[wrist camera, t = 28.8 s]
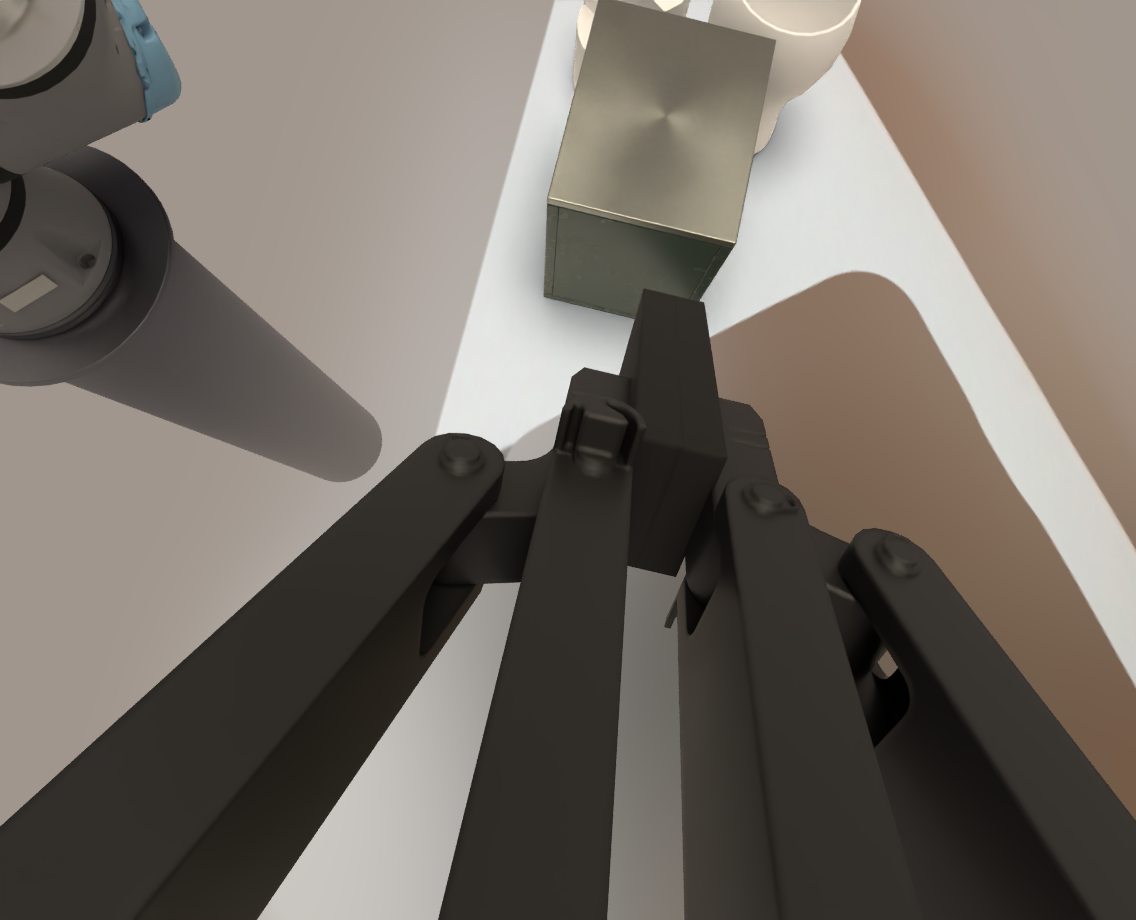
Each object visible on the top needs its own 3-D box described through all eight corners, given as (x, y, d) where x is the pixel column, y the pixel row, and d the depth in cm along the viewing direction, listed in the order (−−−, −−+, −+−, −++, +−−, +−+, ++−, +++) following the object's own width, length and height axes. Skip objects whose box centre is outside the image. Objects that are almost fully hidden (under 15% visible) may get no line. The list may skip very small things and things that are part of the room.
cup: (767, 190, 59) (846, 65, 44) (661, 147, 59) (704, 9, 44) (802, 96, 60) (889, -54, 46) (699, 56, 60) (753, -108, 46)
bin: (579, 152, 58) (595, 16, 44) (711, 184, 58) (770, 59, 44) (543, 296, 56) (546, 204, 41) (680, 329, 56) (732, 249, 41)
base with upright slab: (553, 73, 59) (558, -48, 47) (623, 21, 61) (645, -109, 49) (616, 141, 59) (637, 35, 47) (686, 87, 60) (724, -29, 48)
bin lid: (598, 4, 44) (599, -5, 43) (773, 47, 44) (777, 39, 43) (546, 204, 41) (547, 197, 40) (732, 249, 41) (736, 243, 41)
